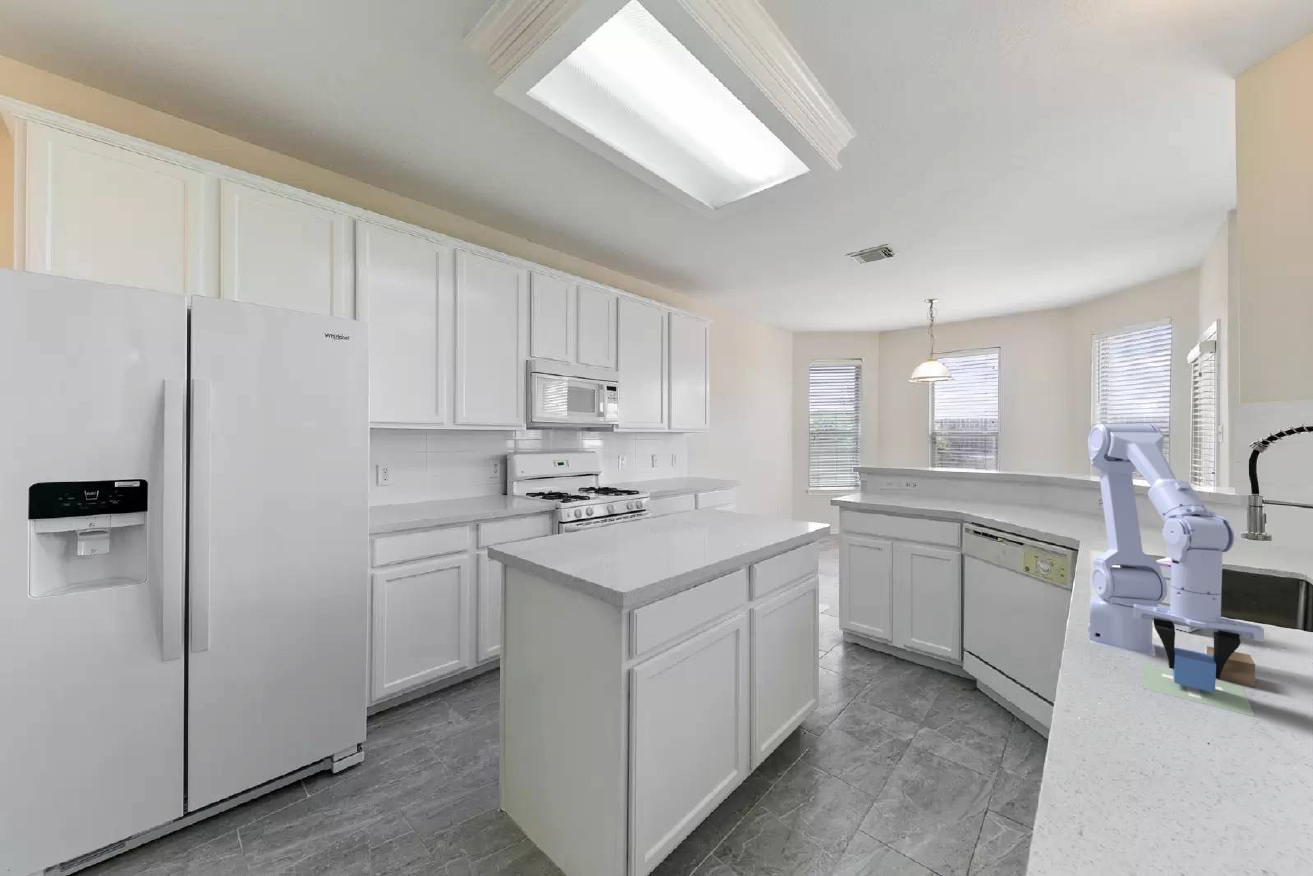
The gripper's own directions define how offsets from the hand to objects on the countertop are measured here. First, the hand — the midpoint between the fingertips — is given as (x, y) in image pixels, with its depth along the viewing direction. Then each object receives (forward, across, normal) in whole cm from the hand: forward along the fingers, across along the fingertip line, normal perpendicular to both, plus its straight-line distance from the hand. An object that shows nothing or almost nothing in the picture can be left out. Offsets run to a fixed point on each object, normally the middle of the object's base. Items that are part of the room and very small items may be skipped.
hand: (1193, 671), depth 84 cm
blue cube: (+2, 0, 0) cm, 2 cm away
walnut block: (+3, +5, +10) cm, 12 cm away
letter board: (+3, 0, 0) cm, 3 cm away
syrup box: (+3, 0, +38) cm, 38 cm away
